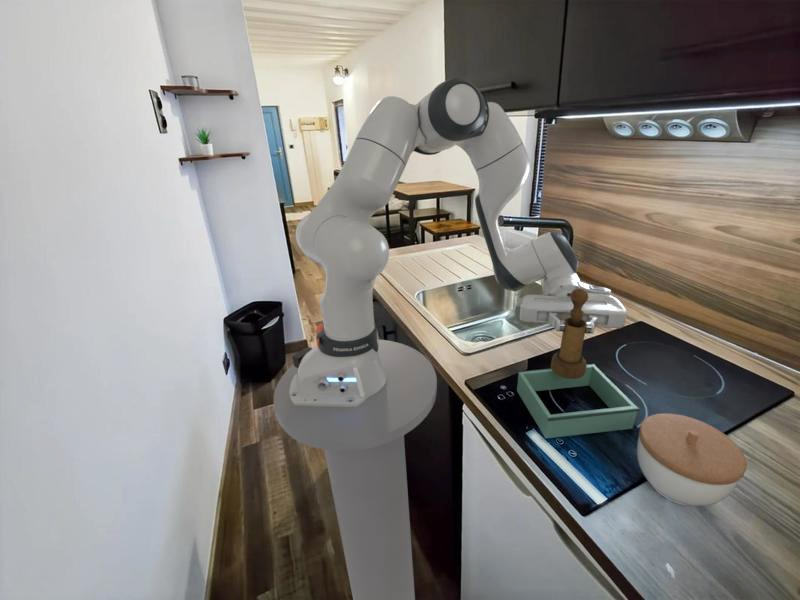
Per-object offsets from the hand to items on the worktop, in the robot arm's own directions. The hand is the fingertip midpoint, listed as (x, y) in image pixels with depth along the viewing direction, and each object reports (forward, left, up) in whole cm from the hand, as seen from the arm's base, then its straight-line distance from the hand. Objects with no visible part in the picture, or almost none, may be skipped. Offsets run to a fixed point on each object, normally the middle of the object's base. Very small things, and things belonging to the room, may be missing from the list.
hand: (575, 329), depth 70 cm
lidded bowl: (+7, -22, -17) cm, 29 cm away
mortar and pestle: (0, +1, -10) cm, 10 cm away
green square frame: (0, -3, -17) cm, 17 cm away
